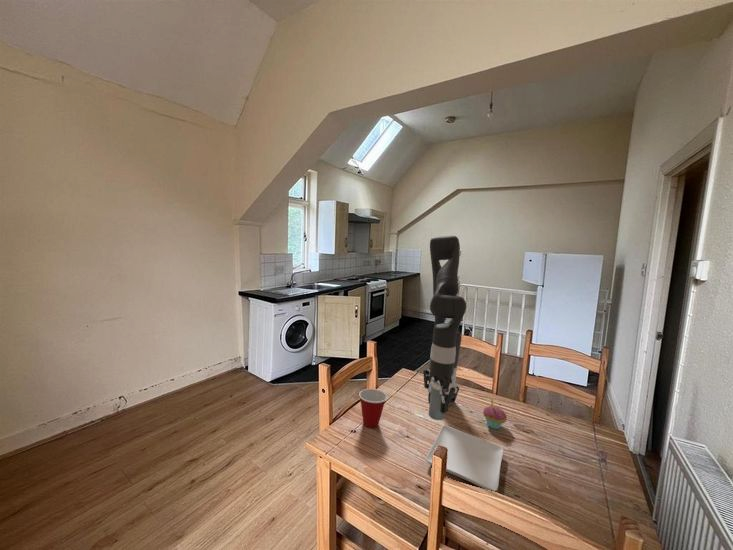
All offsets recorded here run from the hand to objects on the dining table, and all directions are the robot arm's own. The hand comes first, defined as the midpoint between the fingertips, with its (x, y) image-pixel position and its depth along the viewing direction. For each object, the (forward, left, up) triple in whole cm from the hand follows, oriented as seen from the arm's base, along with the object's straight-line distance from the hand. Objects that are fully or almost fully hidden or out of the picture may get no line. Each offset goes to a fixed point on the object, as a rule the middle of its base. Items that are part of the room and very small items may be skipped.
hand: (437, 407), depth 94 cm
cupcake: (-35, -2, -18) cm, 40 cm away
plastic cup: (+9, -24, -18) cm, 32 cm away
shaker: (0, 0, -3) cm, 3 cm away
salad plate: (-9, +6, -19) cm, 22 cm away
